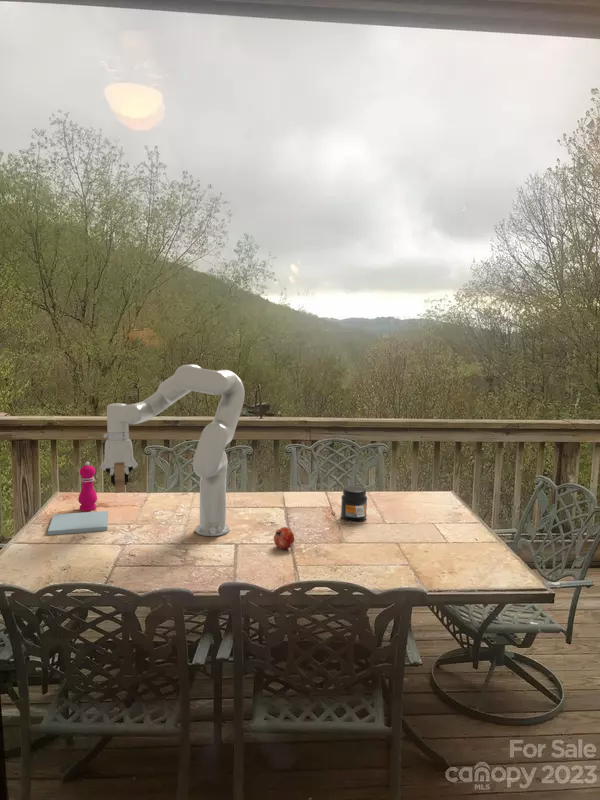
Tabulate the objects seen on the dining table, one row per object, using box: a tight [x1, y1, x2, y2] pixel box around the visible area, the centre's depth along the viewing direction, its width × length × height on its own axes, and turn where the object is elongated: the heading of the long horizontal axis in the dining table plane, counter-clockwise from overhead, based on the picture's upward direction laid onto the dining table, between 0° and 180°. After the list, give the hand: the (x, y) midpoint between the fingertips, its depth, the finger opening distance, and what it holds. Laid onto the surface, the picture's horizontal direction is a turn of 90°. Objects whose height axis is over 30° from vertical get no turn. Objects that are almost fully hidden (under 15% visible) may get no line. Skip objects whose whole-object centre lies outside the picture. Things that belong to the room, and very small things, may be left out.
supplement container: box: [340, 485, 368, 522], centre depth 223 cm, size 10×10×12 cm
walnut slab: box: [114, 463, 126, 494], centre depth 206 cm, size 7×4×11 cm, turn 18°
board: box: [47, 510, 109, 536], centre depth 207 cm, size 20×20×2 cm
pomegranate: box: [273, 526, 295, 550], centre depth 188 cm, size 7×7×10 cm
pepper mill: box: [77, 461, 98, 512], centre depth 225 cm, size 7×7×20 cm
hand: (119, 484), depth 207 cm, fingers closed on walnut slab, 3 cm apart
